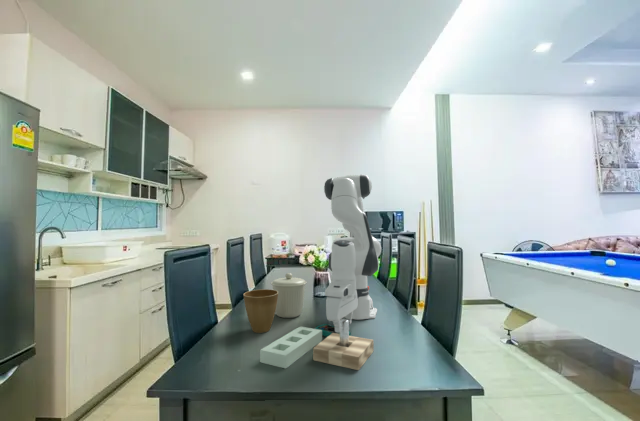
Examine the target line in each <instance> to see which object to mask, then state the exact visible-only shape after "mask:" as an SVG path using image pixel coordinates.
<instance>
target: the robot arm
mask: <svg viewBox="0 0 640 421" xmlns="http://www.w3.org/2000/svg"><path fill="white" fill-rule="evenodd" d="M372 188H373V185H372V181H371V179H370V177H369V176H368V175H366V174H360V175H359V174H352V175H351V174H350V175H345V176H339V177H331V178H327V179H326V181H325V182H324V187H323V193H324V195H325V197H326V199H328V200H329V201H331V202H330V203H331V205H330V206H331V207H330V209H331V214H332V215H333V217H334V219H336V220H337V221H339V222H340V223H342V227H343V229H344V230H346V231H347V232H349V233H350V234H351V235H352V236H353V237H349V236H348V237H347V236H346V237H345V236H344V237H339V238H335V239H334V240H333V242H332V244H331V252H330V253H329V254H328V267H327V268H328V269H329V270H330V271H331V275H330V282H329V285H328V286H327V287H326V289H325V290H324V295H325V297H326V300H325V310H326V311H325V314H326V315H325V316H326V319H327V321H329V322H332V323H333V326H334V327H335V332H338V333H339V332H340V331H341V326H340V319H348V320H349V326H350V325H351V324H352V320H358V321H359V320H367V319H368V320H369V319H376V316H377V313H378V308H376V307H374V302H373V299H372V297H371V296H370V292H369V290H370V286H369V285H368V277H371V276H372V275H374V274H375V273H376V272H378V270H379V265H380V264H379V263H380V260H379V257H380V255H381V254H382V246H381V245H382V244H381V243H380V241H379V239H378V238H375V237H374V235H372V232H371V231H372V230H371V227H370V223H369V219H368V216H367V214H366V212H364V205H363V200H365V198H367V197H368V196H370V195H371V192H372V190H373V189H372Z"/></svg>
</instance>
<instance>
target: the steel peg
mask: <svg viewBox="0 0 640 421" xmlns="http://www.w3.org/2000/svg"><path fill="white" fill-rule="evenodd" d="M340 326H341V331H340V346H344V347H349V331H350V325H349V320H348V319H346V318H342V319H340Z"/></svg>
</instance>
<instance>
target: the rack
mask: <svg viewBox="0 0 640 421" xmlns="http://www.w3.org/2000/svg"><path fill="white" fill-rule="evenodd" d="M322 341H323V335H322V330H318V329H315V328H311V327H305V326H299V327H297V328H295V329H293V330H292V331H290V332H288V333H287V334H285V335H283V336H282V337H280V338H278V339H276V340H275V341H273V342H271V343H269V344H268V345H266V346H264V347H263V348H261V349H260V350H259V358H260V359H259V363H263V364H265V365H270V366H274V367H277V368H282V369H287V368H289V367H290V366H291V365H292V364H294V363H295V362H296V361H297V360H299V359H300V358H302V357H303V356H304V355H305V354H307V353H308V352H310V351H311V350H313V348H314V347H315V346H316V345H318V344H319V343H320V342H322Z"/></svg>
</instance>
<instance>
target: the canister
mask: <svg viewBox="0 0 640 421" xmlns="http://www.w3.org/2000/svg"><path fill="white" fill-rule="evenodd" d="M270 284H271V287H272V288H271V290H276V291H278V300H277V306H276V311H275V315H276V316H278V317H280V318H284V319H292V318H297V317H299V316H301V314H302V313H303V308H304V300H305V292H306V285H307V281H306V280H305V279H303V278H300V277H293V274H292V273H291V272H287V273H286V274H285V277H279V278H276V279H273V281H271V282H270Z"/></svg>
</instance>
